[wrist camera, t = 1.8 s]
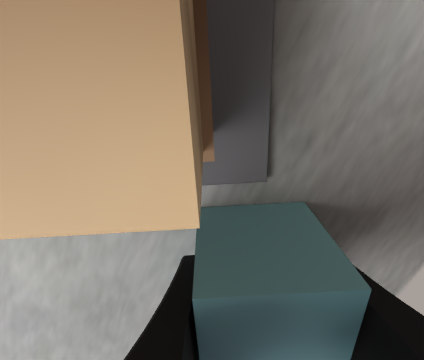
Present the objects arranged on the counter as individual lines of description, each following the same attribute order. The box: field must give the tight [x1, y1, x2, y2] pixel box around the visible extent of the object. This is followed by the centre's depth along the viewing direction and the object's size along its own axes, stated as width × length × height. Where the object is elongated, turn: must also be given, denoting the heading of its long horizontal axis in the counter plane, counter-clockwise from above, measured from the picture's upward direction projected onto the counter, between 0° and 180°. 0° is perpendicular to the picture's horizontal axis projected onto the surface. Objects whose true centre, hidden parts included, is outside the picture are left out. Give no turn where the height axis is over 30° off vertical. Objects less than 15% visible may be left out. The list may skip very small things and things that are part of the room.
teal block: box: [192, 202, 372, 360], centre depth 9 cm, size 4×4×4 cm
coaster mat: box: [202, 0, 275, 185], centre depth 7 cm, size 10×10×1 cm
